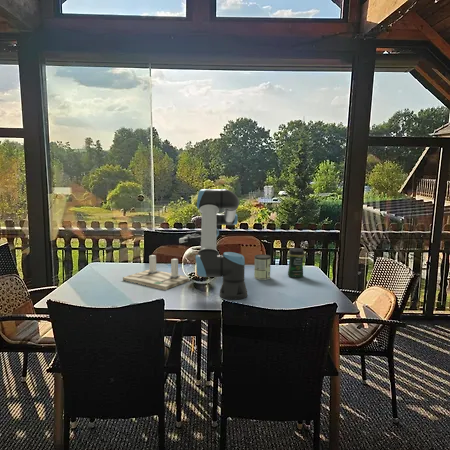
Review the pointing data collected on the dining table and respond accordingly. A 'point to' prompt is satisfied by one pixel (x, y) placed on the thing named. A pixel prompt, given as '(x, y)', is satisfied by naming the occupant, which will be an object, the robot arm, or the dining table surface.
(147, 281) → the striped wooden board
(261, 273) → the coffee can
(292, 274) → the coffee jar
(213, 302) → the dining table surface
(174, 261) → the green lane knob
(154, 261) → the grey lane knob
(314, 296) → the dining table surface
